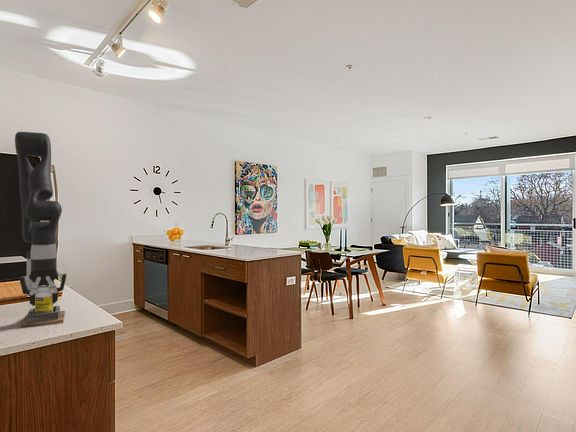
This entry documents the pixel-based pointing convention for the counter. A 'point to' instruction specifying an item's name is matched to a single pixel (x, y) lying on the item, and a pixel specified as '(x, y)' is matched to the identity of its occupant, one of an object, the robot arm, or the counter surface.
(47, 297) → the supplement bottle
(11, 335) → the counter surface
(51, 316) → the socket base
